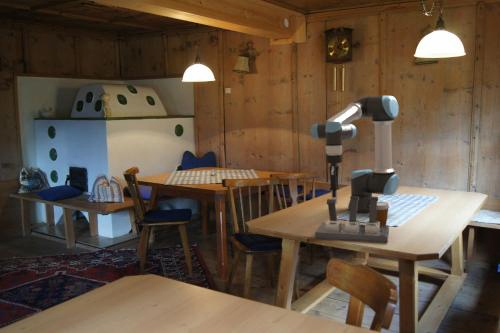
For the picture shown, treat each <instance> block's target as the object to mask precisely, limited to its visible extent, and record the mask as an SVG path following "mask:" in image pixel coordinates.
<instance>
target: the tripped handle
mask: <svg viewBox="0 0 500 333" xmlns="http://www.w3.org/2000/svg"><path fill="white" fill-rule="evenodd" d="M335 203H336V199H331V198H330V199H329V198H328V199H326V205H327V207H328V214H329V219H330V221H337V219H338V217H337V216H338V215H337V209H336V208H337V207H336V204H335Z"/></svg>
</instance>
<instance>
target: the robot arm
mask: <svg viewBox="0 0 500 333" xmlns="http://www.w3.org/2000/svg"><path fill="white" fill-rule="evenodd" d="M399 108H400V107H399V103H398V101H397V99H396V98H395V97H394V96H392V95H374V96H373V95H372V96H371V95H370V96H369V95H368V96H363V97H360V98H358V99H356V100H354V101H352V102H350V103H349V104H347V106H346V108H344V109H343V110H341V111H340V112H338V113H336V114H335V115H333V116H332V117H330V118H329V119H326V120H325V121H324V122H321V123H314V124H313V125H312V126H311V127H310V128H311V129H310V135H311V137H312V138H313V139H318V140H325V147H324V149H325V154H326V155H325V162H326V164H330V166H329V178H330V179H329V182H330V188H329V190H330V192H331V193H330V194H331V196H330V197H331V198H330V199H336V203H335V205H337V204H338V199H339V198H338V195H339V193H338V190H340V187H339V169H340V166H339V164H341V163H343V141H346V140H347V141H349V140H352V139H354V138H356V135H357V133H358V132H357V128H356V126H355V125H354V124H352V123H351V122H353V121H357V120H359V119H362V118H369V119H370V118H371V122H372V123H373V125H374V144H375V145H374V148H375V150H374V152H375V168H374V169H370V168H369V169H359V170H355V171H352V172H351V176H350V196H359V201H358V204H357V214H358V213H361V214H362V213H363V214H364V213H367V214H368V213H370V197H373V194H374V195H381V196H382V195H383V196H393V195H394V194H396V192H397V190H398V189H399V185H400V177H399V175H398V174H397V173H396V170H395V169H394V168H393V167H392V166H393V165H392V164H393V163H392V162H393V158H392V155H393V154H392V151H393V150H392V144H393V143H392V123H394V122H395V118H396V117H398V115H399V110H400V109H399ZM348 202H349V203H348V204H347V211H349V212H350V206H351V200H350V199H349V201H348Z"/></svg>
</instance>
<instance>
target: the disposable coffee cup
mask: <svg viewBox="0 0 500 333" xmlns="http://www.w3.org/2000/svg"><path fill="white" fill-rule="evenodd" d="M389 208H390V205H389V203H388V202H385V201H377V213H376V221H379V222H380V226H387V221H388V213H389Z"/></svg>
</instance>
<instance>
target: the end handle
mask: <svg viewBox="0 0 500 333" xmlns="http://www.w3.org/2000/svg"><path fill="white" fill-rule="evenodd" d="M377 202H379V196H372V197H370V212H369V214H368V215H369V216H368V221H369V223H376V213H377Z"/></svg>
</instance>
